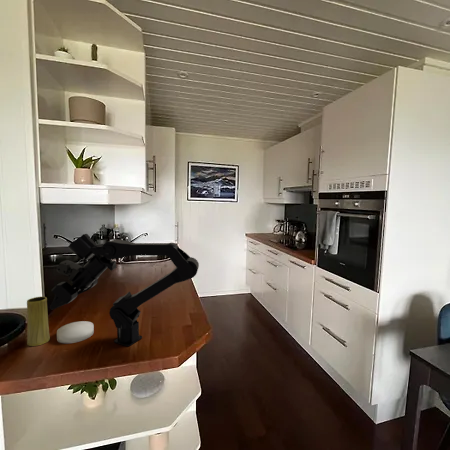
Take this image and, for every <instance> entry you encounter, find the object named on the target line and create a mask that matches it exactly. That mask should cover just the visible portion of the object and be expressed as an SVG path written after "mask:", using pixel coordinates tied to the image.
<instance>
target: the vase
mask: <svg viewBox="0 0 450 450" xmlns="http://www.w3.org/2000/svg"><path fill="white" fill-rule="evenodd" d="M26 314H27V320H26V321H27V334H26V335H27V336H26V337H27V339H26V340H27V342H26V344H27V346H30V347H38V346H40V345H44V344H46V343H48V342H49V341H50V340H51V338H50V337H51V336H50V329H49V327H50V326H49V315H48V298H47V297H46V296H35V297H31V298H28V299H27V300H26Z"/></svg>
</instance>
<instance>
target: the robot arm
mask: <svg viewBox="0 0 450 450" xmlns="http://www.w3.org/2000/svg"><path fill="white" fill-rule="evenodd" d="M68 249H69V250H70V251H71V252H73V254H75V256H76V257H77V258H79V259H80V260H81V261H83V260H86V261H87V262H86V263H85V264H84V265H83V266H82V265H80V264H79V263H77V262H74V261H72V260H68V259H64V260H63V261H61V262H60V263H59V264H58V265H57V266H55V267H56V272H57V273H59V274H62V275H63V276H67V277H68V278H67V279H68V280H69V282H71V284H72V285H71V284H70V283H69V282H68V281H61V282H59V283H58V284H56V285H55V286H54V287H53V288H51V292H52V293H53V294H54V297H53V300H52V301H51V304H50V305H49V307H48V308H49V309H50V310H51V311H52V310H55V309H57V308H60V307H62V306H65V305H68V304H70V303H71V302H73V301H74V300H75V299H76V298H77V297H78V295H80V294H83V293H85V292H88V291H89V290H91V289H92V288H93V287H95V286H96V285H97V284H98V281H99V278H100V277H101V275H102V274H103V273H104V272H105V271H106V270H107V269H108V270H110V271H113V270H115V269H116V268H117V261H116V260H117V259H123V258H126V257H131V256H133V257H134V256H135V257H137V256H139V257H140V256H146V257H147V256H148V257H149V256H154V257H155V256H157V257H158V256H161V257H162V256H165V257H166V256H167V257H168V258H169V259H170V261H171V262H172V264H173V265H174V268H173V270H171V271H170V272H169V273H167V274H165V275H164V276H162V277H161V278H159V279H157V280H156V281H154V282H152V283H151V284H149V285H148V286H146V287H145V288H143V289H141V290H140V291H138V292H136V293H134V294H132V293H131V291H128V292H127V293H126V294H125V295H122V296H120V297H119V298H117V299H116V300H115V301H114V302H113V303H112V306H111V307H110V309H109V312H108V313H109V316H110V319H111V320H112V321H113V323H114V325H115V328H116V337H117V338H116V339H114V341H113V343H114V344H118V345H122V346H124V347H125V346H126V347H130V346H132V345H133V344H135V343H137V342H138V341H140V340H142V339H143V336H142V335H140V332H139V331H140V328H139V327H140V323H139V321H138V318H139V317H140V315H141V311H140V309H139V307H140V306H141V305H143V304H144V303H146V302H148V301H149V300H151V299H153V298H154V297H156V296H157V295H159V294H161V293H162V292H164V291H166V290H168V289H169V288H170V287H172V286H173V285H175V284H179V283H184V282H185V281H188V280H191V279H193V278H194V277H196V275H197V273H198V271H199V267H200V265H199V264H200V263H199V261H198V259H196V258H194V257H193V256H192V257H191V256H190V255H189V254H188V253H187V252H185V251H184V250H183V249H182V248H180V247H179V245H177V244H176V243H175V242H165V243H164V242H161V243H160V242H156V243H155V242H153V243H152V242H150V243H149V242H145V243H144V242H131V241H128V240H123V239H116V238H115V239H112V240H108V241H106V242H104V243H101V244H97V243H96V242H95V241H94V240H93V238H91V236H89V234H88V233H84V234H82V235H81V236H79V237H78V238H76V239H75V240H72V241H71V242H70V244H69V245H68ZM88 260H89V261H88Z"/></svg>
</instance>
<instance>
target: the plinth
mask: <svg viewBox="0 0 450 450" xmlns="http://www.w3.org/2000/svg"><path fill="white" fill-rule="evenodd" d="M94 327H95V326H94V323H93V322H91V321H85V320H84V321H83V320H82V321H73V322H70V323H67V324H65V325H62V326H60V328H58V329H57V330H56V340H57V342H58V343H59V344H74V343H79V342H82V341H85V340H87V339H89V338H91V336H93V335H94V332H95V330H94V329H95V328H94Z"/></svg>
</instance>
